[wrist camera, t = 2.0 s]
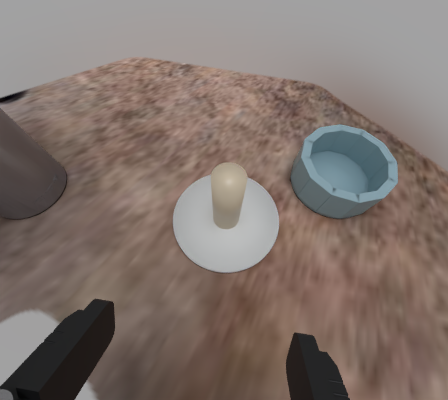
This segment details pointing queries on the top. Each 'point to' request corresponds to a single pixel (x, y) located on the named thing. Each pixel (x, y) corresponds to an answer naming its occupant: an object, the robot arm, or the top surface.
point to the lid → (226, 220)
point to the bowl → (342, 171)
